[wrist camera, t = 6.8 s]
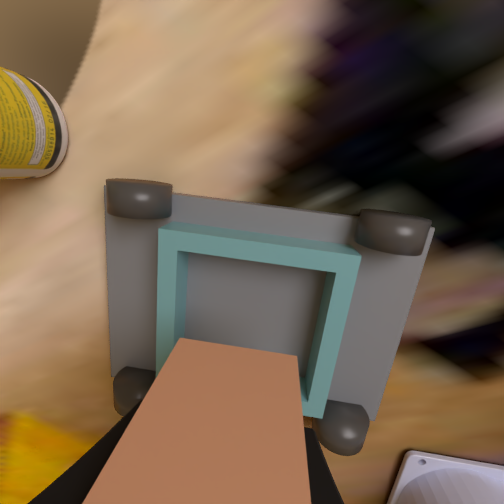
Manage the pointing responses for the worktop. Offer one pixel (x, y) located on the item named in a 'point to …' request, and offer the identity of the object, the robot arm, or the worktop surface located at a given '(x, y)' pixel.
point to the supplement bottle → (29, 128)
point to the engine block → (213, 433)
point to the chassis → (262, 293)
